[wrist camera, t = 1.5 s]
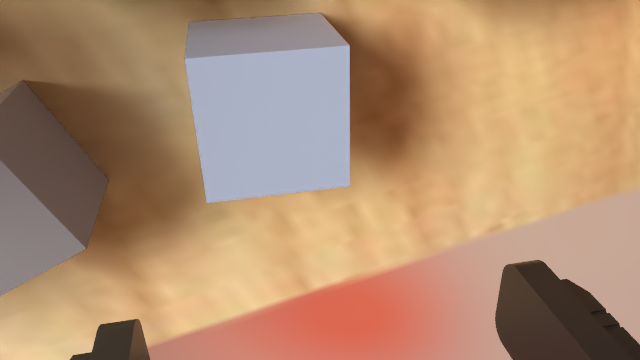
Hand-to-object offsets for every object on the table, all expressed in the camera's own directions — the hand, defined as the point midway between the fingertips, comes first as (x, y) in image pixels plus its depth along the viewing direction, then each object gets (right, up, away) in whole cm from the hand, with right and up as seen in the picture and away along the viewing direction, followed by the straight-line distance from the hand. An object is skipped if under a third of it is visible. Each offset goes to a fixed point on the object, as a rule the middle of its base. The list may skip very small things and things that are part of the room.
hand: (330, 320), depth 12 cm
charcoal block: (-15, +4, +14) cm, 21 cm away
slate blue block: (-3, +8, +14) cm, 17 cm away
